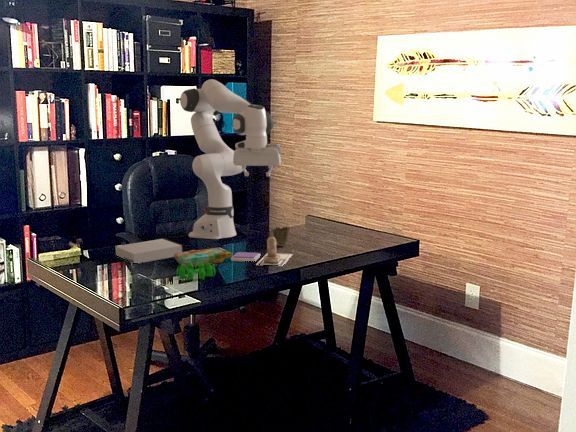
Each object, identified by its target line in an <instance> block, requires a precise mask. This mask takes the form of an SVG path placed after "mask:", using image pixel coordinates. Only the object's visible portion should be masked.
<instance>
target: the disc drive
mask: <svg viewBox="0 0 576 432" xmlns="http://www.w3.org/2000/svg"><path fill="white" fill-rule="evenodd" d="M184 248H185V246H184V244H182V243H179V242H177V241H174V240H171V239H168V238H165V237H162V238H158V239H154V240H153V239H152V240H147V241H141V242H133V243H127V244H122V245H115V256H116V255H117V256H119V257H121V258H123V259H126V260H128V261H130V262H132V263H131V264H133V263H138V264H143V263H149V262H153V261H157V260H164V259H169V258H175V257H174V254H175V253H180V252H185V249H184ZM119 257H118V258H119ZM121 258H120V259H121ZM123 259H122V260H123ZM126 260H125V261H126ZM128 261H127V262H128ZM130 262H129V263H130ZM142 262H143V263H142Z"/></svg>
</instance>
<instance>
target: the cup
mask: <svg viewBox="0 0 576 432" xmlns="http://www.w3.org/2000/svg"><path fill="white" fill-rule="evenodd" d="M272 234H273V236H272V237H274V238H275V239H276V246H278V247H281V248H282V247H285V246H286V245H287V244H286V243H287V242H288V240H289V239H290V228H289V227H287V226H283V227H282V228H281V227H280V226H276V227H274V228H272Z"/></svg>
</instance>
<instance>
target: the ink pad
mask: <svg viewBox="0 0 576 432" xmlns="http://www.w3.org/2000/svg"><path fill="white" fill-rule="evenodd" d="M261 254H262V253H259V252H245V251H244V252H242V251H238V252H236V253H235V254H234V255H232V256H231V257H230V261H231V262H245V261H246V263H247V261H248V262H249V261H251V262H252V261H253V262H254V261H255V262H257V260H259V259H260V258H261V257H260V256H261ZM251 262H249V263H251ZM253 262H252V263H253ZM255 262H254V263H255Z"/></svg>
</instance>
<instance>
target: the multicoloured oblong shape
mask: <svg viewBox="0 0 576 432" xmlns="http://www.w3.org/2000/svg"><path fill="white" fill-rule="evenodd" d="M231 257H233V253H232V252H231V251H228V250H226V249H225V248H222V247H212V248H205V249H191V250H188V251H184V252H180V253H175V254H174V257H173V258H174V259H175V260H176V262H177V263H178V264H179V265H181V266H182V265H185V266H186V267H187V265H188V263H189V262H191V263H192V265H193V268H195V260H192V258H198V259H199V260H196V267H198V266H199V263H200V262H203V263H204V266H205V265H206V264H208V263H211V264H210V265H212V264H213V265H214V264H215V265H216V264H220V263H223V262H224V260H225V259H227V258H231ZM185 266H184V267H185ZM186 267H185V268H186Z"/></svg>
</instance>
